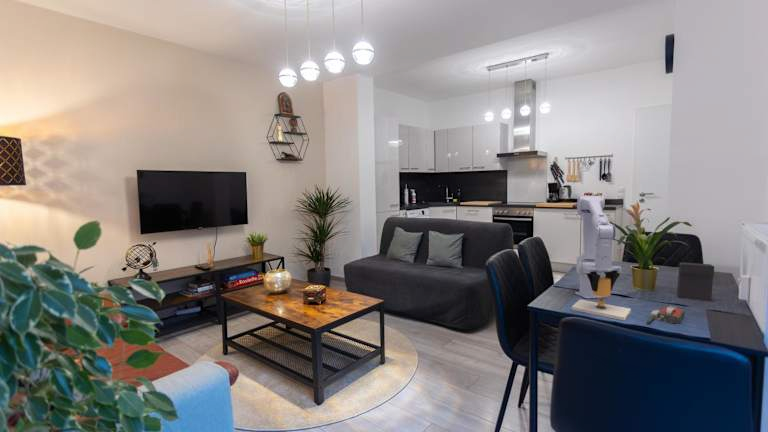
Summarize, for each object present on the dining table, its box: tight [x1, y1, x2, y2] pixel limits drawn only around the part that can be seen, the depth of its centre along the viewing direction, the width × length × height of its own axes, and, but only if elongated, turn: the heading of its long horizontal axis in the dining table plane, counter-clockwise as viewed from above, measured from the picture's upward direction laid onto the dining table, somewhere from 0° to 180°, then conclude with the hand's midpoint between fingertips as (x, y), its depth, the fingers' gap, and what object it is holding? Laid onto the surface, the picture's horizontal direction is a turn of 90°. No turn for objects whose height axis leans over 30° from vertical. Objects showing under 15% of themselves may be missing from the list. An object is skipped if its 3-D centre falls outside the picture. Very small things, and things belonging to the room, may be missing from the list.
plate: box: [570, 297, 632, 322], centre depth 148 cm, size 18×12×5 cm, turn 48°
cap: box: [593, 275, 612, 298], centre depth 147 cm, size 6×6×6 cm
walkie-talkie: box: [646, 305, 685, 325], centre depth 138 cm, size 9×4×20 cm
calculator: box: [676, 262, 715, 301], centre depth 161 cm, size 11×4×15 cm, turn 65°
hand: (601, 290), depth 147 cm, fingers closed on cap, 6 cm apart
